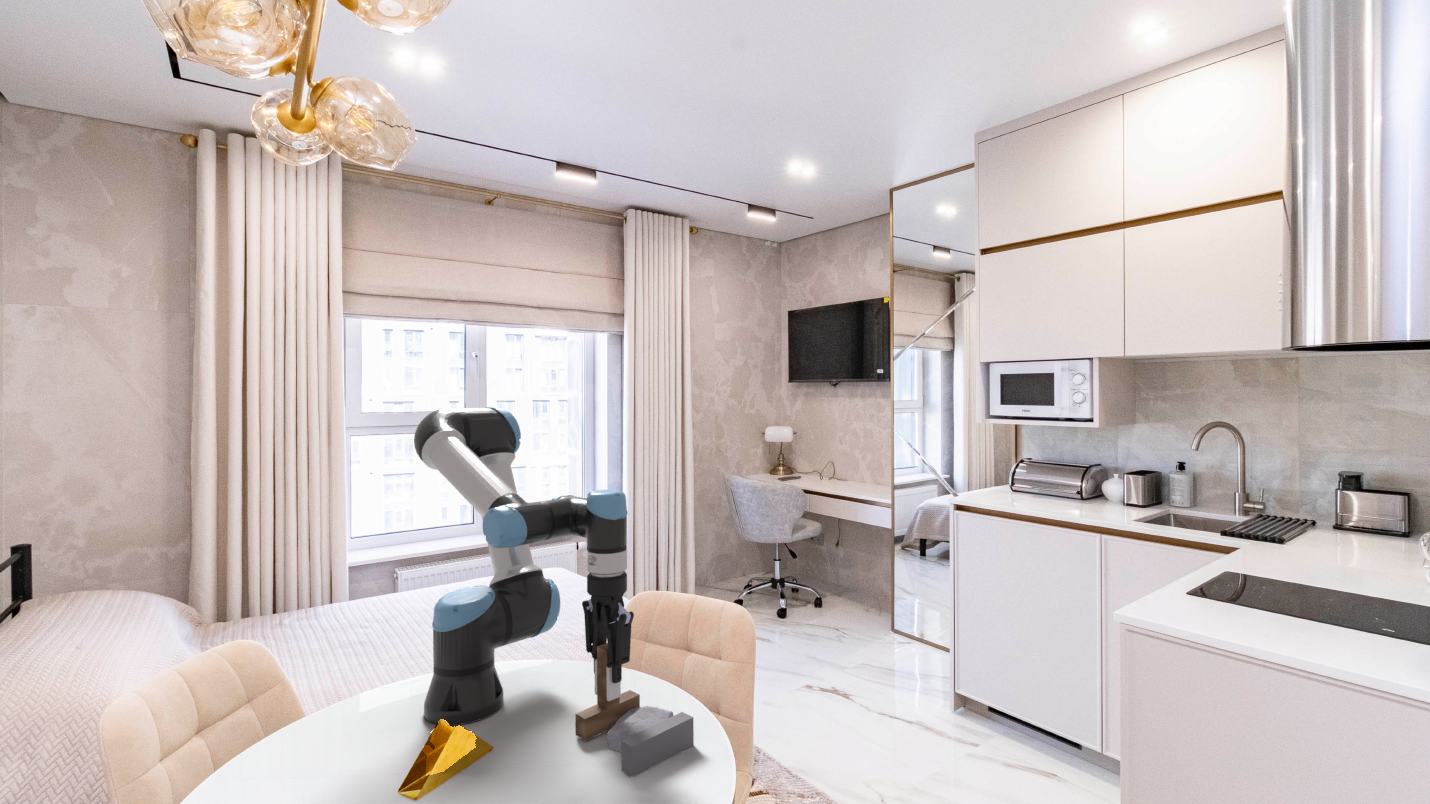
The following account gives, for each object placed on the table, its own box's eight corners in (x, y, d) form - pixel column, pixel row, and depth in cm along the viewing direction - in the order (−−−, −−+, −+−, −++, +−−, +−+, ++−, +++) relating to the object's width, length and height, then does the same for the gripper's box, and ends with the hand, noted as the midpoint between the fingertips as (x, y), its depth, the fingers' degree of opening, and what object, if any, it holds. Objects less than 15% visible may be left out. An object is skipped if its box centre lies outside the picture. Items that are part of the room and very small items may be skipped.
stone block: (604, 760, 115) (654, 757, 112) (599, 732, 115) (649, 728, 112) (632, 730, 126) (678, 727, 123) (627, 705, 127) (674, 701, 124)
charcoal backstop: (621, 770, 108) (621, 740, 108) (682, 739, 118) (682, 711, 118) (632, 777, 106) (632, 746, 106) (693, 744, 116) (693, 717, 116)
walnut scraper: (575, 735, 119) (574, 654, 119) (629, 710, 128) (629, 635, 128) (585, 740, 117) (584, 658, 117) (639, 714, 126) (639, 638, 126)
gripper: (566, 568, 125) (566, 688, 125) (617, 584, 114) (617, 716, 114) (598, 561, 131) (598, 676, 131) (649, 575, 120) (650, 702, 120)
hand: (607, 694), depth 122 cm, fingers closed on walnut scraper, 3 cm apart
